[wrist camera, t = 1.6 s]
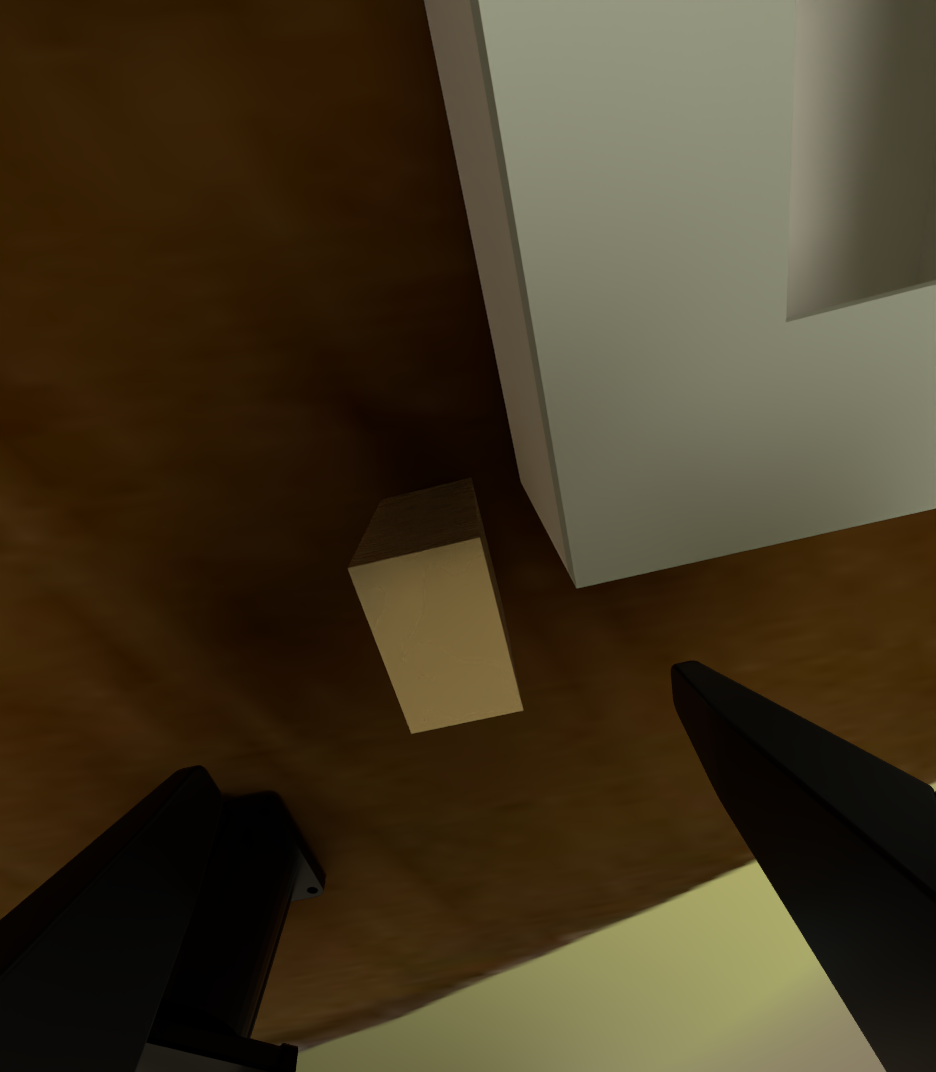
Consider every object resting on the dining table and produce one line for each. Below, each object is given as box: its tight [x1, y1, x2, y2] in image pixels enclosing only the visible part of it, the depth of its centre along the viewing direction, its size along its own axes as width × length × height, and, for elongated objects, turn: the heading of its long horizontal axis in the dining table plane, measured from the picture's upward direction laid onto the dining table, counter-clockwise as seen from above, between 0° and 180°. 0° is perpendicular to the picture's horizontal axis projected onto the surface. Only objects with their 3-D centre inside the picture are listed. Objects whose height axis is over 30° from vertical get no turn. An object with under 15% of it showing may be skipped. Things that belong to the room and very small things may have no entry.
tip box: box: [424, 0, 936, 588], centre depth 8 cm, size 14×12×7 cm
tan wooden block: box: [348, 478, 523, 734], centre depth 13 cm, size 5×3×5 cm, turn 14°
